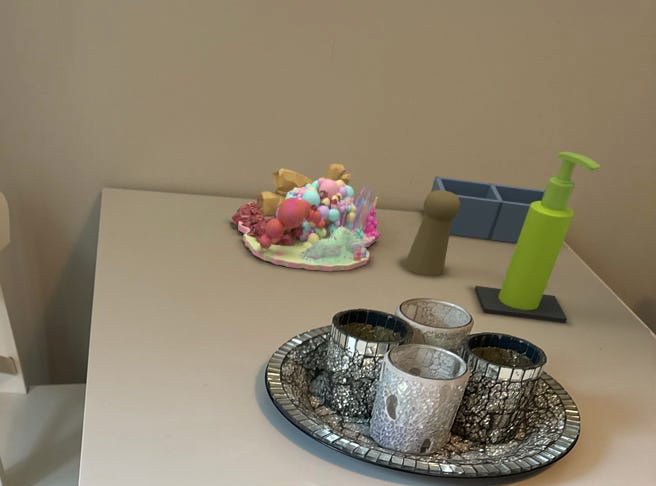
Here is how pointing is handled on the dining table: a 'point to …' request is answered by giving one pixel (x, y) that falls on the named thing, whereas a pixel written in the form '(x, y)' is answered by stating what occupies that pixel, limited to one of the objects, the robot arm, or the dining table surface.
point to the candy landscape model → (310, 222)
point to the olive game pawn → (433, 234)
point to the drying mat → (545, 310)
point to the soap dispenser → (542, 238)
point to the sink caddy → (489, 208)
